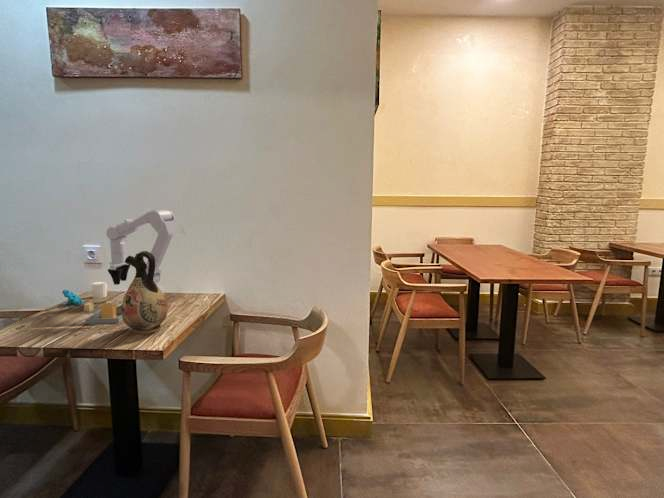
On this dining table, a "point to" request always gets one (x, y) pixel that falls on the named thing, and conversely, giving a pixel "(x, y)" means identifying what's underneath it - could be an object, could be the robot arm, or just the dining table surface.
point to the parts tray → (94, 319)
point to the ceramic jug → (143, 297)
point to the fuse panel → (91, 308)
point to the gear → (72, 298)
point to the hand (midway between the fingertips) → (120, 282)
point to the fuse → (108, 310)
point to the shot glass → (99, 289)
